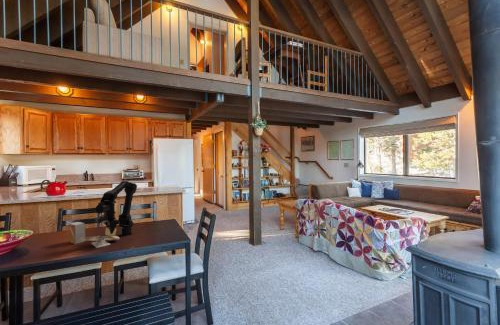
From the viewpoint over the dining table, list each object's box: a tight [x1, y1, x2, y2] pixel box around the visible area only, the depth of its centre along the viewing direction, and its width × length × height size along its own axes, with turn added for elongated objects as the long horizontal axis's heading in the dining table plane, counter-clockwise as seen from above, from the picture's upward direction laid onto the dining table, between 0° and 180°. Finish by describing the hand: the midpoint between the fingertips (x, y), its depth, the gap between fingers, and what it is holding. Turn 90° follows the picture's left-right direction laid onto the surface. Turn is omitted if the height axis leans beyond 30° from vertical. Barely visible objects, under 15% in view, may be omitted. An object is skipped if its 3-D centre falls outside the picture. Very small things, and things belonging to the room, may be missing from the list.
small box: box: [68, 221, 86, 245], centre depth 173 cm, size 8×6×13 cm
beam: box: [80, 235, 120, 242], centre depth 168 cm, size 22×7×1 cm, turn 137°
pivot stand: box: [91, 234, 111, 249], centre depth 168 cm, size 8×12×5 cm, turn 46°
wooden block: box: [104, 226, 117, 236], centre depth 172 cm, size 5×5×4 cm
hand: (110, 233), depth 172 cm, fingers closed on wooden block, 5 cm apart
